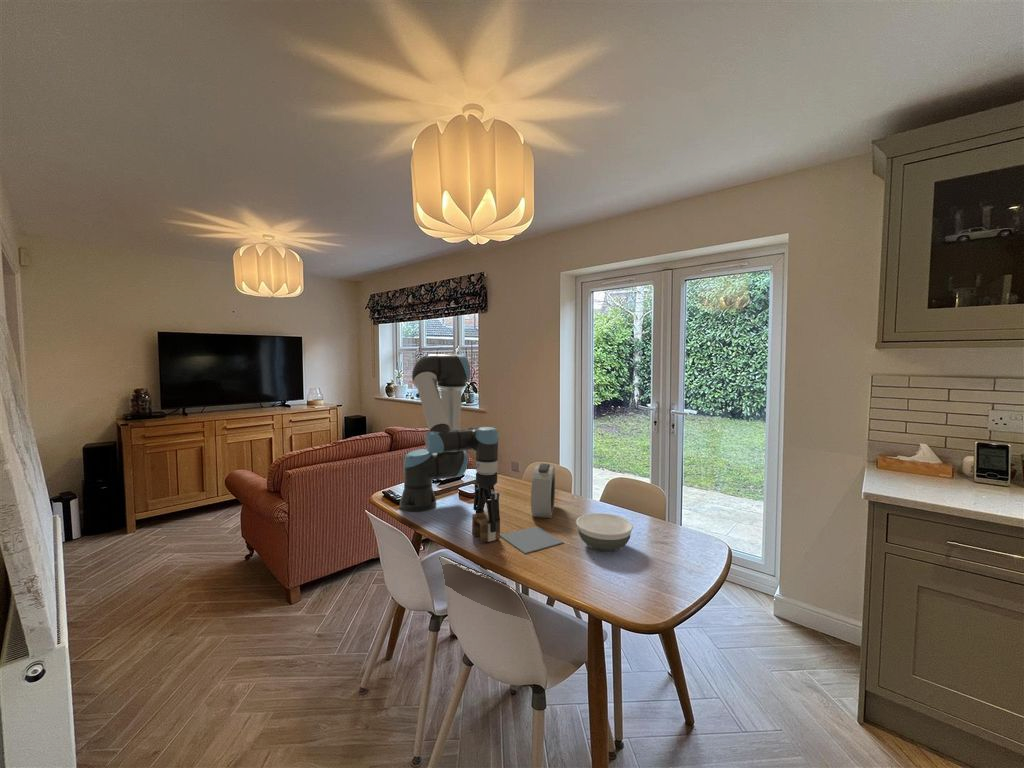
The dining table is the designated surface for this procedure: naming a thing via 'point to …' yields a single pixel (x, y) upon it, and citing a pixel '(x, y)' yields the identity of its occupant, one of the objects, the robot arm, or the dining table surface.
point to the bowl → (604, 531)
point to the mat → (531, 539)
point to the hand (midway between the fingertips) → (485, 535)
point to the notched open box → (483, 526)
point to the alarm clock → (543, 491)
